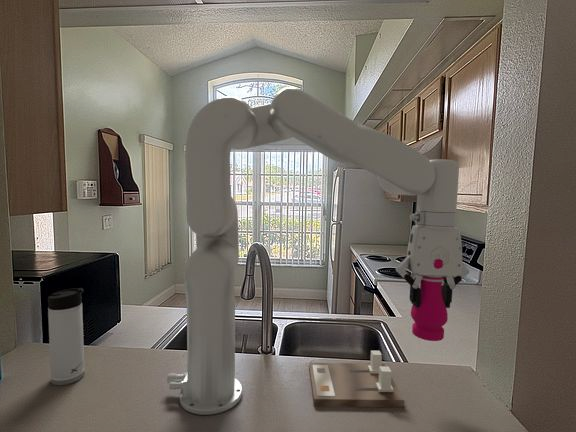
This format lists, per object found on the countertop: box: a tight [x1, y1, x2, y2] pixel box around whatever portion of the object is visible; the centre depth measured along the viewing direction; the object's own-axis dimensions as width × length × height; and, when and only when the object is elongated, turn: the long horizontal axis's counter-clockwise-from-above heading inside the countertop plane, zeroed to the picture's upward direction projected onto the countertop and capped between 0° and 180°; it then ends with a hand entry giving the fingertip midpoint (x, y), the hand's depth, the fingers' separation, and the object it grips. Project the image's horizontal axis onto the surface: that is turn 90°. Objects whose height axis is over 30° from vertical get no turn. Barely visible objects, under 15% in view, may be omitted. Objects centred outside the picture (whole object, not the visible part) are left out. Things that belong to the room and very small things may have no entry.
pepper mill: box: [410, 259, 448, 342], centre depth 72 cm, size 7×7×20 cm
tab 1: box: [368, 350, 383, 374], centre depth 78 cm, size 3×2×4 cm
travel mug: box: [47, 287, 85, 386], centre depth 75 cm, size 6×7×20 cm
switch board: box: [308, 362, 405, 408], centre depth 75 cm, size 18×14×2 cm
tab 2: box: [376, 365, 393, 392], centre depth 71 cm, size 3×2×4 cm
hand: (430, 304), depth 72 cm, fingers closed on pepper mill, 5 cm apart
